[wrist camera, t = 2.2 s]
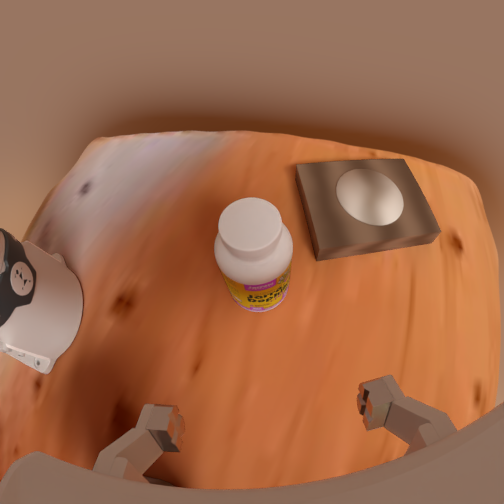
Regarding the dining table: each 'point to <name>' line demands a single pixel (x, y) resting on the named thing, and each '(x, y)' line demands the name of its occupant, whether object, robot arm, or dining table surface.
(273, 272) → the supplement bottle
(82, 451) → the dining table surface
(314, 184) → the walnut board
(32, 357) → the robot arm
